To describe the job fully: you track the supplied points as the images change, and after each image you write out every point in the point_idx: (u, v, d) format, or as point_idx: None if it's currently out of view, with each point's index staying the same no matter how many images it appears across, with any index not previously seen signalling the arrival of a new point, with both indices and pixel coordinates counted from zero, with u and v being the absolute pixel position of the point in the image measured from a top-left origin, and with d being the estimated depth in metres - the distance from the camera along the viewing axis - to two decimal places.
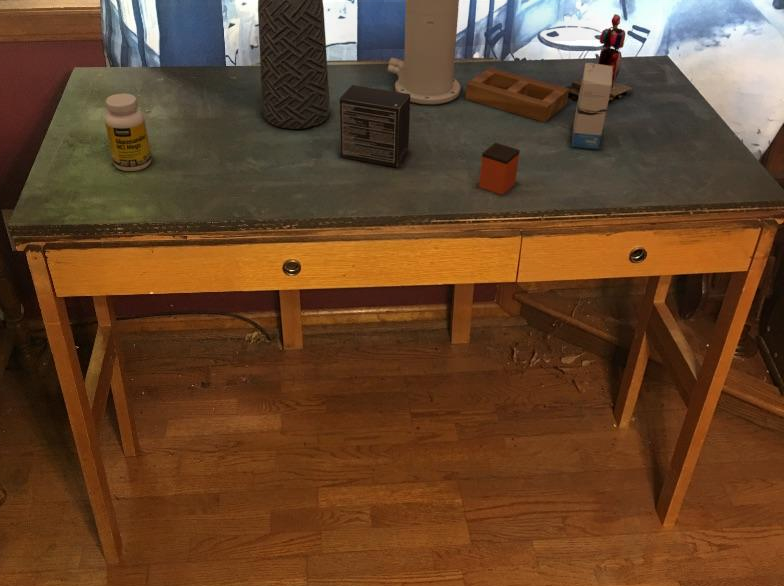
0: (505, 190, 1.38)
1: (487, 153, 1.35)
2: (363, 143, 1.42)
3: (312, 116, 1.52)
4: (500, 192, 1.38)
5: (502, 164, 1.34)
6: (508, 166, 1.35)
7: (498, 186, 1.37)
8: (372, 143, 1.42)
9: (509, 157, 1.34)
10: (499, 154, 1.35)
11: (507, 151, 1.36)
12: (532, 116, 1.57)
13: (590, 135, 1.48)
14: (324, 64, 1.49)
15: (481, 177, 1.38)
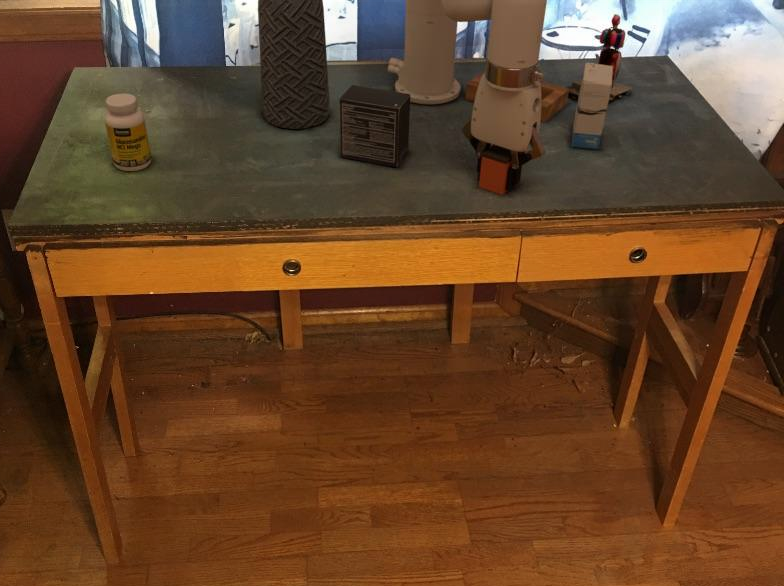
0: (505, 190, 1.38)
1: (487, 153, 1.35)
2: (363, 143, 1.42)
3: (312, 116, 1.52)
4: (500, 192, 1.38)
5: (502, 164, 1.34)
6: (508, 166, 1.35)
7: (498, 186, 1.37)
8: (372, 143, 1.42)
9: (509, 157, 1.34)
10: (499, 154, 1.35)
11: (507, 151, 1.36)
12: None
13: (590, 135, 1.48)
14: (324, 64, 1.49)
15: (481, 177, 1.38)
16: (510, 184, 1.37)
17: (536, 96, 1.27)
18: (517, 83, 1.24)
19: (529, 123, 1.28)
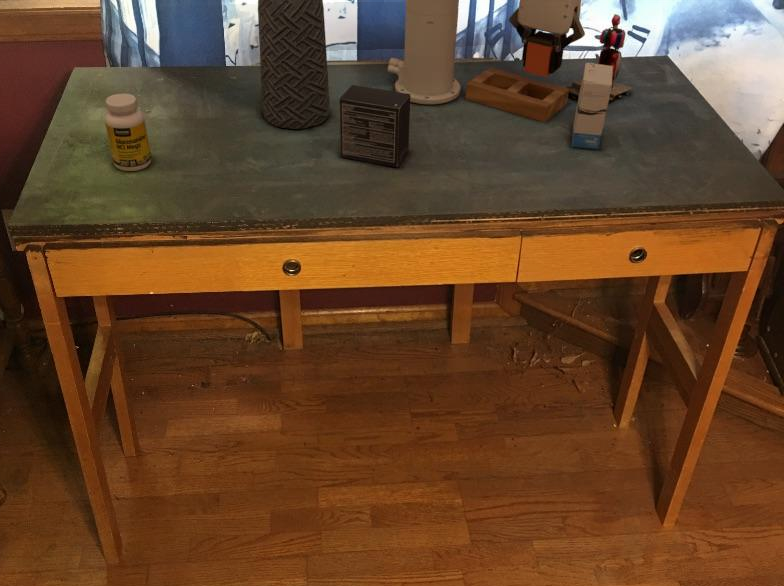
0: (548, 73, 1.55)
1: (532, 38, 1.52)
2: (363, 143, 1.42)
3: (312, 116, 1.52)
4: (544, 74, 1.54)
5: (546, 47, 1.51)
6: (552, 49, 1.52)
7: (542, 68, 1.54)
8: (372, 143, 1.42)
9: (552, 41, 1.51)
10: (543, 39, 1.52)
11: (550, 37, 1.53)
12: (532, 116, 1.57)
13: (590, 135, 1.48)
14: (324, 64, 1.49)
15: (526, 62, 1.55)
16: (553, 67, 1.54)
17: None
18: None
19: (571, 6, 1.45)
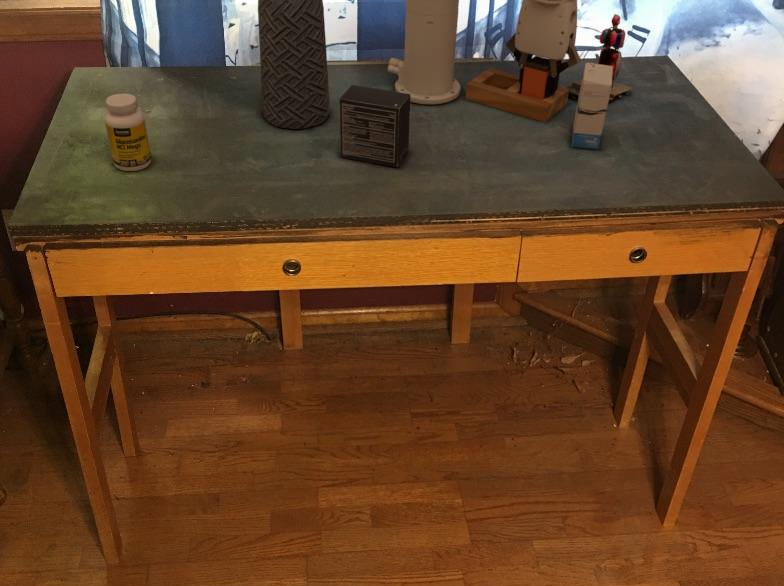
0: (544, 97, 1.58)
1: (529, 63, 1.55)
2: (363, 143, 1.42)
3: (312, 116, 1.52)
4: (540, 99, 1.57)
5: (542, 72, 1.54)
6: (548, 74, 1.55)
7: (539, 93, 1.57)
8: (372, 143, 1.42)
9: (548, 66, 1.54)
10: (539, 64, 1.55)
11: (546, 62, 1.56)
12: (532, 116, 1.57)
13: (590, 135, 1.48)
14: (324, 64, 1.49)
15: (523, 86, 1.58)
16: (549, 91, 1.57)
17: (573, 8, 1.47)
18: None
19: (567, 33, 1.48)
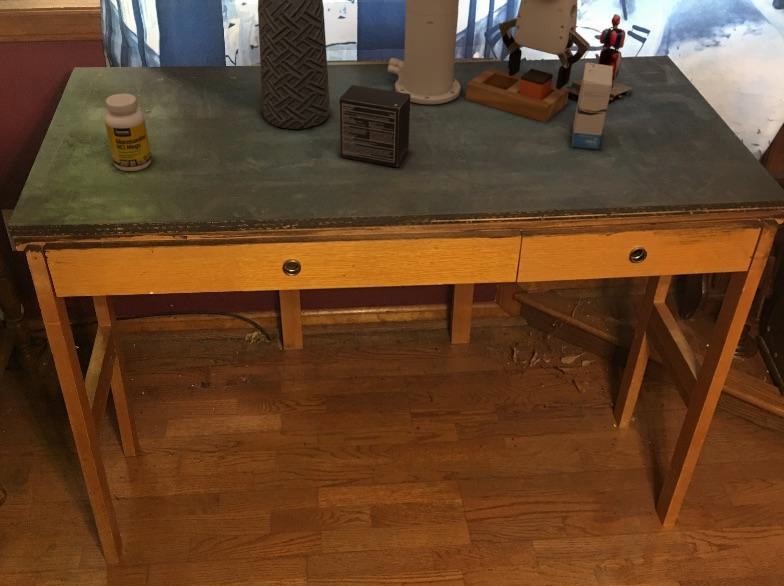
0: None
1: (525, 76, 1.57)
2: (363, 143, 1.42)
3: (312, 116, 1.52)
4: None
5: (538, 85, 1.56)
6: (544, 87, 1.57)
7: None
8: (372, 143, 1.42)
9: (544, 79, 1.56)
10: (535, 77, 1.57)
11: (542, 75, 1.57)
12: (532, 116, 1.57)
13: (590, 135, 1.48)
14: (324, 64, 1.49)
15: None
16: (560, 83, 1.54)
17: (573, 3, 1.46)
18: None
19: (567, 27, 1.47)
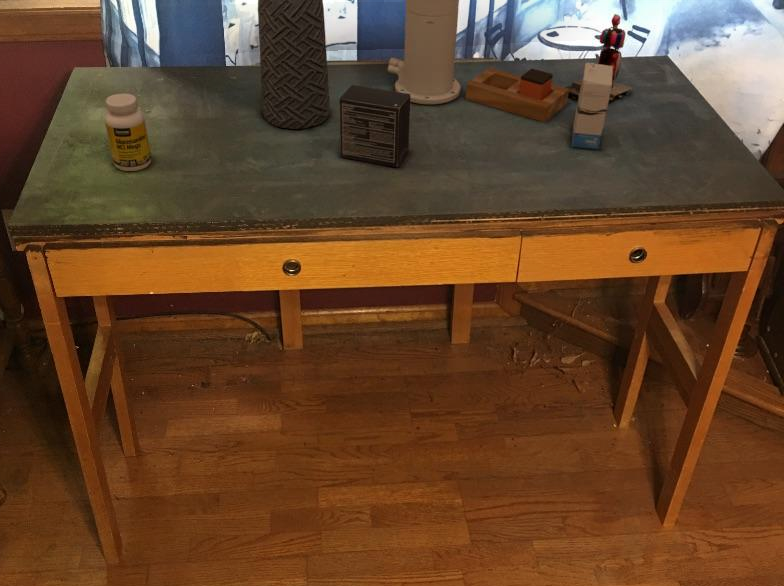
0: None
1: (525, 76, 1.57)
2: (363, 143, 1.42)
3: (312, 116, 1.52)
4: None
5: (538, 85, 1.56)
6: (544, 87, 1.57)
7: None
8: (372, 143, 1.42)
9: (544, 79, 1.56)
10: (535, 77, 1.57)
11: (542, 75, 1.57)
12: (532, 116, 1.57)
13: (590, 135, 1.48)
14: (324, 64, 1.49)
15: None
16: None
17: None
18: None
19: None
